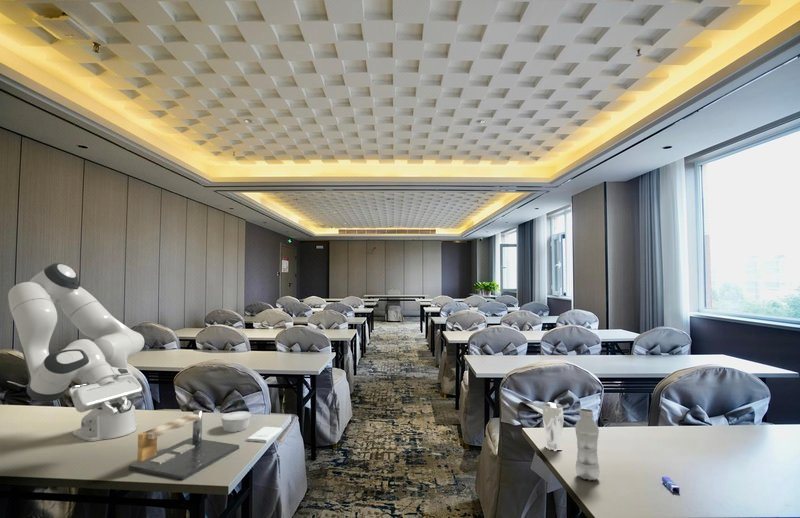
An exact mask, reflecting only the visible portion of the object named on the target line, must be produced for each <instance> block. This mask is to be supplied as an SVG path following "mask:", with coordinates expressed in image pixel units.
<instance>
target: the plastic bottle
mask: <svg viewBox="0 0 800 518" xmlns="http://www.w3.org/2000/svg"><path fill="white" fill-rule="evenodd" d="M579 417H580V418H579V419H578V420H577V421H576V423H575V426H574V430H575V435H576V445H577V447H576V448H577V453H576V454H577V455H576V463H575V471H576V474H577V476H578V477H579V478H580V477H581V479H582V478H583V480H585V479H588V480H587V481H591V480H593V481H597V480H598V479H599V477H600V474H601V470H600V465H599V459H598V439H599V431H600V429H599V426H598V424H597V423H596V422H595V420H594V419H593V418H594V410H592V409H590V408H580V409H579ZM596 479H597V480H596Z"/></svg>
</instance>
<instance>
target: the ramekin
mask: <svg viewBox="0 0 800 518" xmlns="http://www.w3.org/2000/svg"><path fill="white" fill-rule="evenodd" d="M251 416H252V414H251V412H249V411H244V410H243V411H239V410H238V411H232V412H228V413H226V414H223V415H222V416H221V422H222V423H221V424H222V429H223V430H224V432H226V433H238V432H237V431H239V432H242V430H243V431H245V430H246V428H247V429H248V427H249V426H250V422H251ZM244 429H245V430H244Z"/></svg>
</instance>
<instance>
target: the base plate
mask: <svg viewBox="0 0 800 518" xmlns="http://www.w3.org/2000/svg"><path fill="white" fill-rule="evenodd" d="M192 414H196V415H200V419H199V420H197V421H195V422H192V437H189V438H186V439H183V440H182V441H180V442H178V443H176V444H174V445H171V446H169V447H167V448H164V449H162V450H160V451H157V454H156V455H155V456H153V457H151V458H149V459H146V460H144V461H136V462H134V463H132V464H129V466H128V470H131V471H135V472H140V473H146V474H149V473H151V474H150V475H154V476H160V477H166V478H171V479H175V480H180V481H185V480H186V479H188V478H190V477H191V476H193V475H195V474H197V473H198V472H200V471H202V470H203V469H205V468H207V467H210V466H211V465H213V464H215V463H217V462H218V461H220V460H221V459H223V458H225V457H227V456H229V455H230V454H232V453H234V452H236V451H237V450H239V449H240V444H234V443H227V442H223V441H221V442H220V441H215V440H209V439H202V437H203V436H202V435H203V410H202V409H196V410H193V411H192Z"/></svg>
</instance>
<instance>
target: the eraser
mask: <svg viewBox="0 0 800 518" xmlns="http://www.w3.org/2000/svg"><path fill="white" fill-rule="evenodd" d="M662 481H663V483H664V484H666V486H667V487H668V488H669V489H670V490H671V491H672V492H673V493H674V490H675V489H676V490H677V491H678V492H680V487H679V486H678V484H676V482H674V481H673V480H672V479H671V478H670V477H669V476H661V482H662ZM663 483H662V484H663ZM664 484H663V485H664ZM666 486H665V487H666ZM667 487H666V488H667ZM668 488H667V489H668ZM674 488H675V489H674ZM669 489H668V490H669ZM670 490H669V491H670ZM676 490H675V491H676ZM671 491H670V492H671ZM677 491H676V492H677ZM672 492H671V493H672ZM678 492H677V493H678ZM680 493H681V492H680Z"/></svg>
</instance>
